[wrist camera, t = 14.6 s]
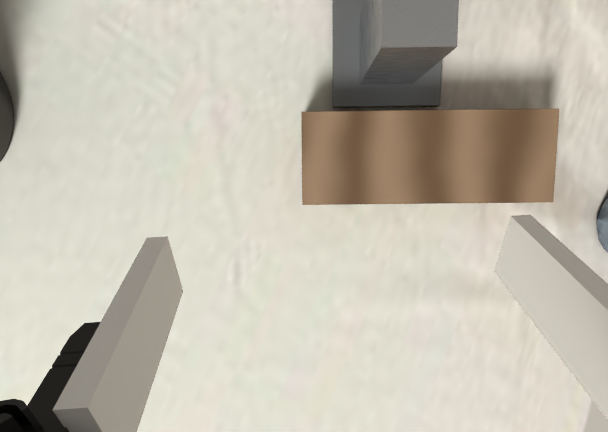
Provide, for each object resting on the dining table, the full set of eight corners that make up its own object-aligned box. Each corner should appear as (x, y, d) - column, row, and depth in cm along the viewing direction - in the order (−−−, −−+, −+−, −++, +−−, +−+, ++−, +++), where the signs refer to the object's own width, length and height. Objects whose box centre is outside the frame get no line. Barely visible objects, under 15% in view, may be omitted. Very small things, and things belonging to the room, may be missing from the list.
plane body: (302, 201, 36) (302, 204, 32) (302, 118, 35) (301, 111, 31) (525, 199, 36) (553, 202, 32) (530, 116, 35) (559, 108, 31)
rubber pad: (332, 107, 35) (333, 106, 34) (332, -3, 34) (333, -7, 33) (436, 106, 35) (439, 105, 34) (440, -4, 34) (443, -8, 33)
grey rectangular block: (413, 83, 34) (457, 46, 24) (359, 84, 34) (381, 47, 24) (414, 16, 33) (460, -52, 23) (359, 16, 33) (382, -50, 24)
